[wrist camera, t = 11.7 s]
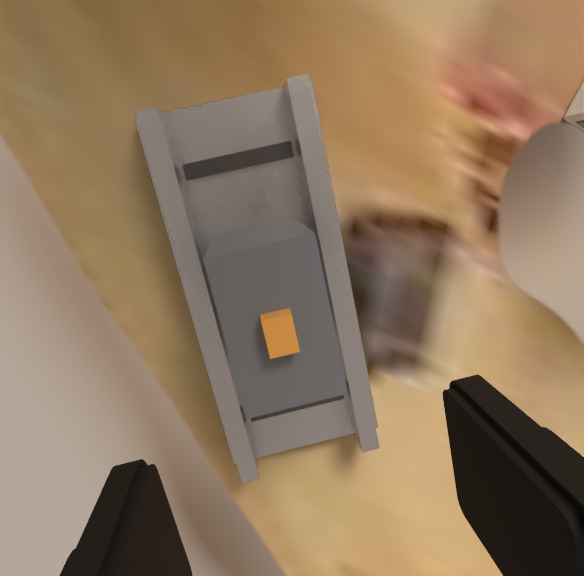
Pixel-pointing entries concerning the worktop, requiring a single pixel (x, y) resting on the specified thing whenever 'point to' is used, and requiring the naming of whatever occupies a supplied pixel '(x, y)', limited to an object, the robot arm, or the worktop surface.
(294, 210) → the rail
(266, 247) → the block
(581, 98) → the syrup box
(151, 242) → the worktop surface
